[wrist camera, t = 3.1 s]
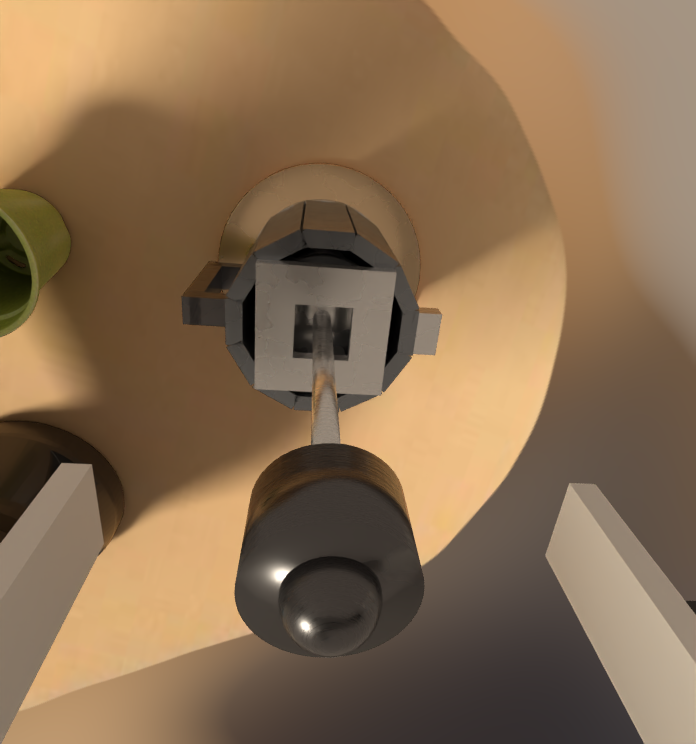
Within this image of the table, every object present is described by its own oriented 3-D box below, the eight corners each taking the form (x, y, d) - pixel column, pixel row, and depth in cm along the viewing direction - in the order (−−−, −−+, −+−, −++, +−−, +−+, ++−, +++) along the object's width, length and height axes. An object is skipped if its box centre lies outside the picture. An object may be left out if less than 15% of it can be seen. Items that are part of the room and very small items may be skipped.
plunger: (260, 363, 31) (170, 745, 12) (262, 248, 28) (146, 509, 9) (374, 370, 32) (464, 743, 13) (388, 257, 29) (532, 520, 10)
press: (219, 354, 41) (179, 447, 30) (214, 153, 35) (162, 167, 23) (404, 365, 43) (439, 457, 31) (433, 173, 36) (490, 195, 24)
